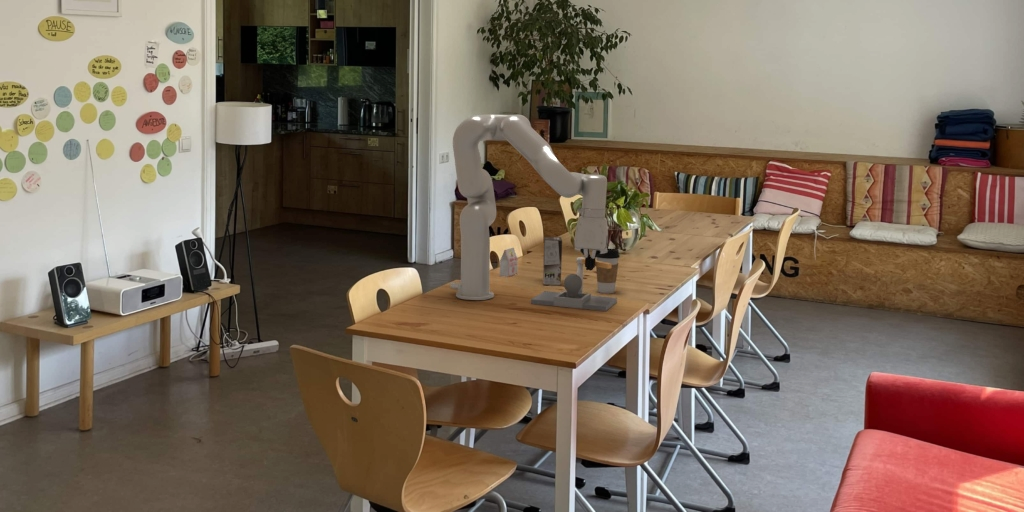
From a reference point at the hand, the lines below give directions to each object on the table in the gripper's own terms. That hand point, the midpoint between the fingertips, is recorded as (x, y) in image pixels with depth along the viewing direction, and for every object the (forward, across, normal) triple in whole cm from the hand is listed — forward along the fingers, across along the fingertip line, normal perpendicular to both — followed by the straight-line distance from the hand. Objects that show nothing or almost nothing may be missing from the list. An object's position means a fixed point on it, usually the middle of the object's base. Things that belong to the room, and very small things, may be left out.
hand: (589, 269), depth 307 cm
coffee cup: (+12, 0, +22) cm, 25 cm away
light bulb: (+12, -4, -2) cm, 13 cm away
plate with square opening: (+12, -4, 0) cm, 13 cm away
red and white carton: (+13, -41, +35) cm, 55 cm away
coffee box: (+12, -22, +29) cm, 38 cm away
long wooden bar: (-1, 0, +3) cm, 3 cm away
